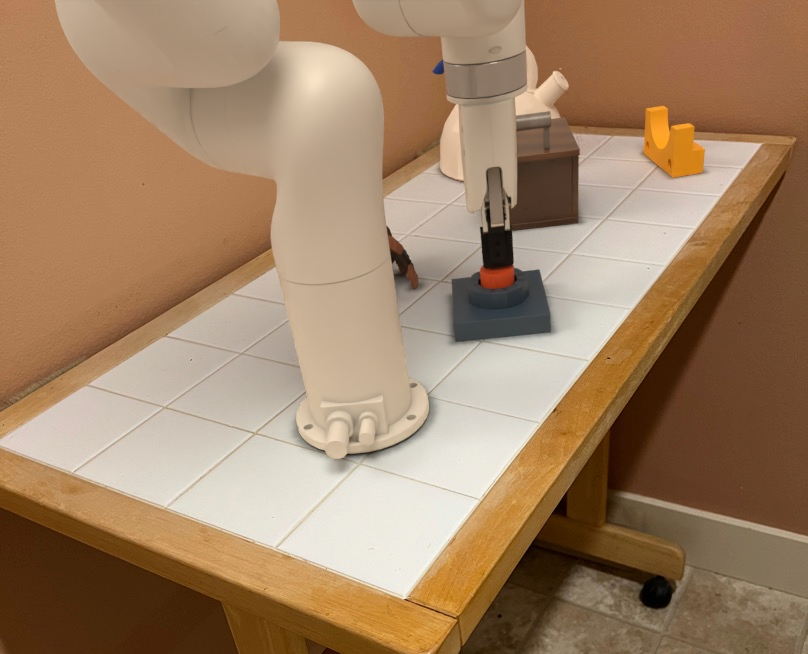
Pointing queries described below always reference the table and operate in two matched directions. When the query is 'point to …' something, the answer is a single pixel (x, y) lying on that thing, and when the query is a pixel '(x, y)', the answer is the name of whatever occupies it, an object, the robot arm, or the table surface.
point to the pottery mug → (402, 260)
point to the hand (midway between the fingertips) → (498, 263)
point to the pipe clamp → (671, 144)
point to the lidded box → (546, 193)
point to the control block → (500, 307)
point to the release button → (497, 277)
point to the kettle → (524, 104)
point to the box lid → (543, 138)
